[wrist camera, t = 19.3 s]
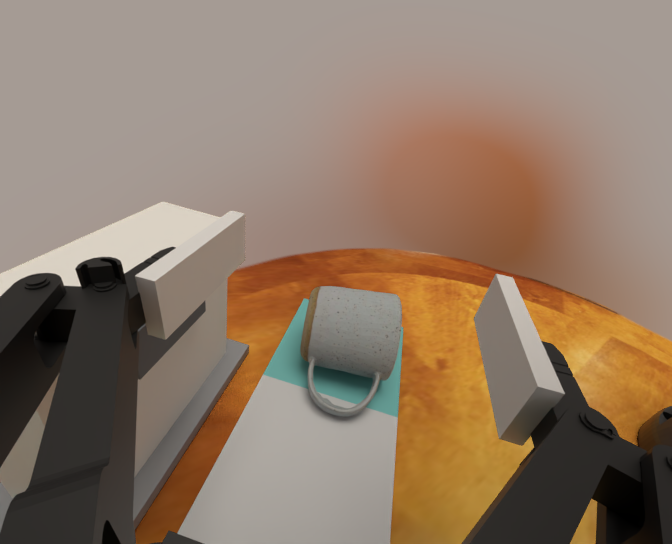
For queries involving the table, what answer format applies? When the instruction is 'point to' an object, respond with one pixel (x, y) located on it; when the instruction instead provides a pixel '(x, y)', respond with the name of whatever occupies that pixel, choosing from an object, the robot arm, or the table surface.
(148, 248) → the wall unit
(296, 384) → the mat
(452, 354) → the table surface
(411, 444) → the table surface
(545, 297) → the table surface
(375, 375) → the ceramic mug
